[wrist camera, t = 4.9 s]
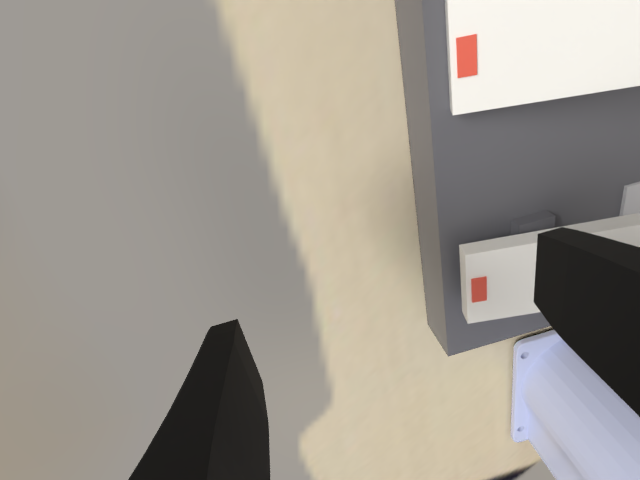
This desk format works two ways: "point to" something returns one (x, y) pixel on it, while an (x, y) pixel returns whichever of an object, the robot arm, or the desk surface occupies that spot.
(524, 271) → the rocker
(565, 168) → the rocker switch panel
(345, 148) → the desk surface
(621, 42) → the rocker middle
